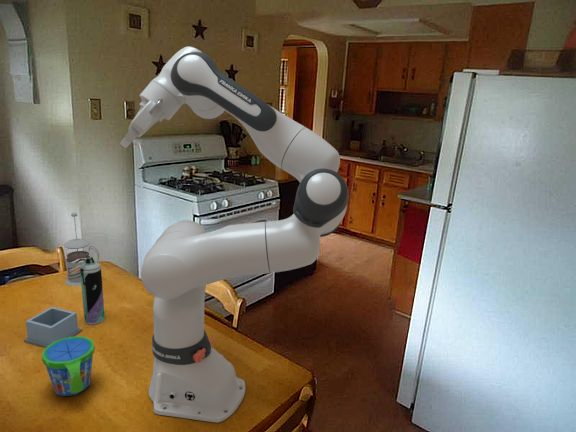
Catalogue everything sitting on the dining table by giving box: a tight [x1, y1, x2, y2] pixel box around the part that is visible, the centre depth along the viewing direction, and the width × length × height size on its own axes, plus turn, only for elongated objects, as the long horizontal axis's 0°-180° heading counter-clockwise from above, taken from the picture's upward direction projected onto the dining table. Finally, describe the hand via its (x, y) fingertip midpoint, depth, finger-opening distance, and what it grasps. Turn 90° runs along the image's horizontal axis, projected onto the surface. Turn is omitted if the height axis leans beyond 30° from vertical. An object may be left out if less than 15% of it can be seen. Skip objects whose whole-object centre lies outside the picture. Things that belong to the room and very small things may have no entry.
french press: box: [63, 212, 100, 287], centre depth 146 cm, size 10×12×25 cm
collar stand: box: [23, 306, 83, 349], centre depth 115 cm, size 10×10×6 cm
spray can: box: [79, 256, 106, 326], centre depth 122 cm, size 6×6×20 cm
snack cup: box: [41, 335, 95, 397], centre depth 96 cm, size 16×10×10 cm
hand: (122, 146), depth 100 cm, fingers open, 8 cm apart
